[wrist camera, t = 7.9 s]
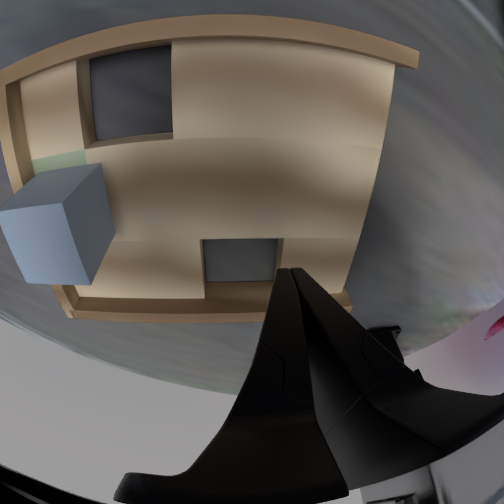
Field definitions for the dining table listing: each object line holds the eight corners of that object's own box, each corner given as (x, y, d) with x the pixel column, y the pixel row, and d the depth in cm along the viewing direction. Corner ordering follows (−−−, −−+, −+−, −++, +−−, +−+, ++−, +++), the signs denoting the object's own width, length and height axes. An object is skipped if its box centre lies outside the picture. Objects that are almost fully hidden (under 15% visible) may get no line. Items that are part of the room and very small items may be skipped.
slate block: (115, 233, 15) (91, 285, 12) (57, 235, 15) (27, 283, 11) (101, 162, 13) (62, 202, 9) (39, 172, 12) (-5, 212, 9)
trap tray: (338, 287, 22) (349, 314, 20) (80, 290, 20) (68, 317, 18) (389, 50, 11) (419, 51, 9) (23, 67, 9) (-8, 74, 7)
